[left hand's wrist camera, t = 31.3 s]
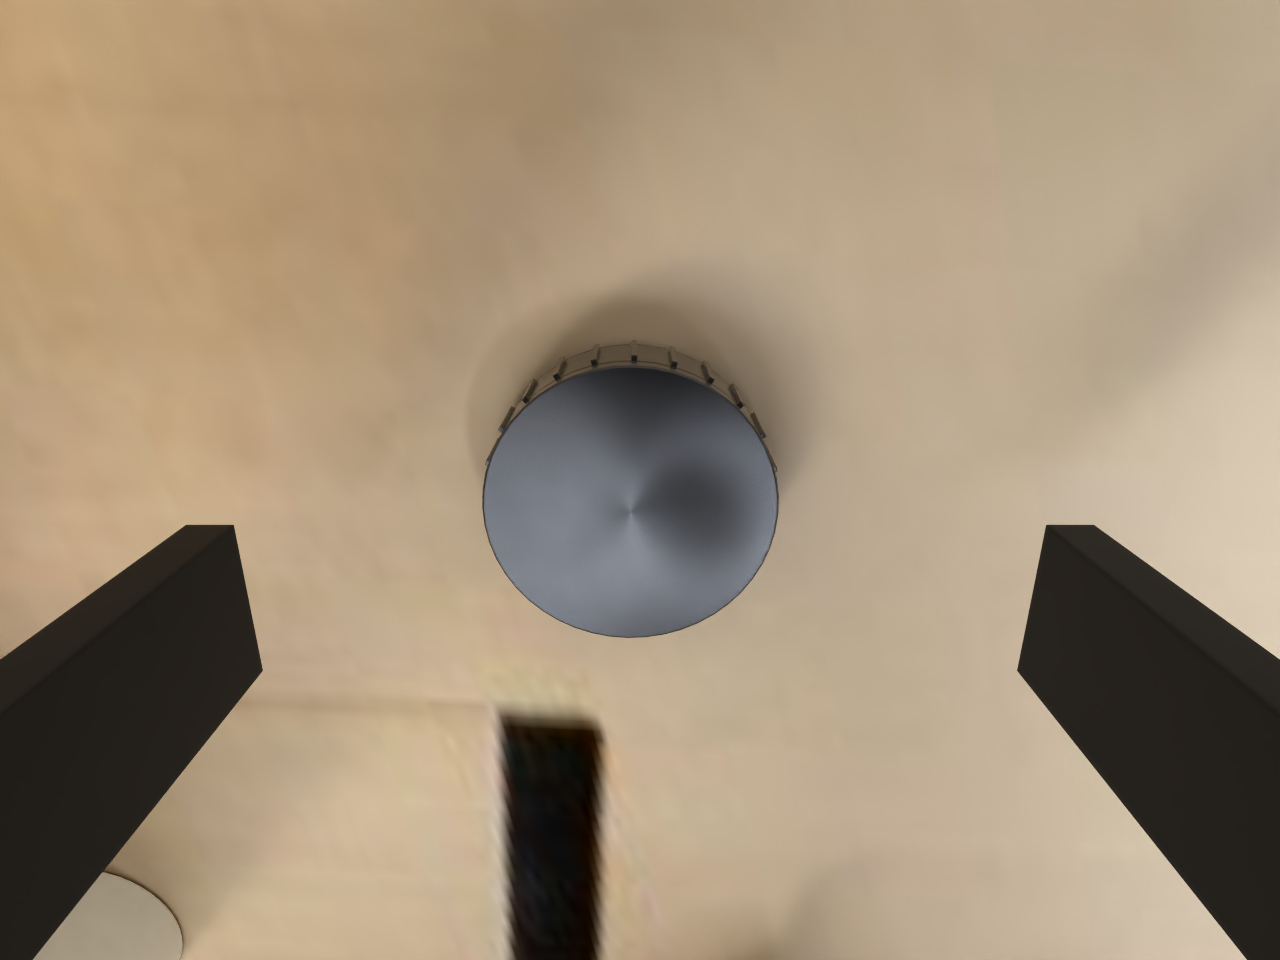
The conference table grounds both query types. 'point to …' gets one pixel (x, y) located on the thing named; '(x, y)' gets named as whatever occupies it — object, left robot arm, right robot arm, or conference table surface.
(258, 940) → the conference table surface
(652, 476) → the lid
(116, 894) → the jar
